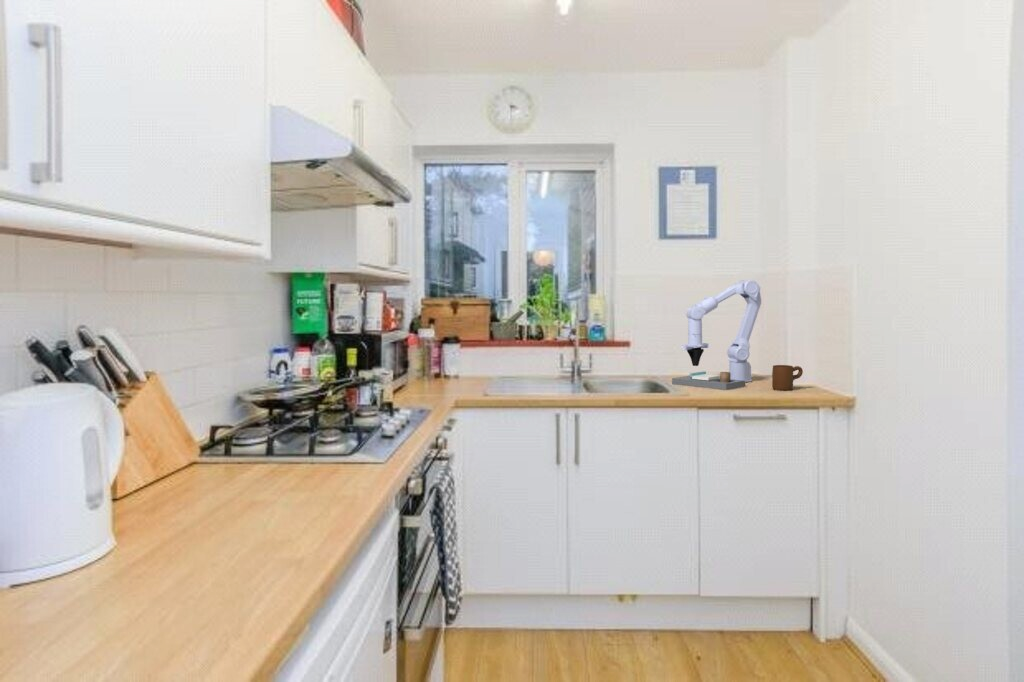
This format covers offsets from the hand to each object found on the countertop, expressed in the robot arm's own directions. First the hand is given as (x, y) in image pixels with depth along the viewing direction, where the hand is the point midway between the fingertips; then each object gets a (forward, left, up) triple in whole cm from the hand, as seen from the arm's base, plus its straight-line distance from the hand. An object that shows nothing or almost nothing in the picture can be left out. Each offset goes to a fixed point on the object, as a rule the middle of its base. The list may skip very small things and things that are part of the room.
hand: (695, 365), depth 276 cm
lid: (+3, +7, -5) cm, 9 cm away
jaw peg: (+3, +16, -8) cm, 18 cm away
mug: (-8, +37, -8) cm, 39 cm away
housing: (+3, +8, -7) cm, 11 cm away
